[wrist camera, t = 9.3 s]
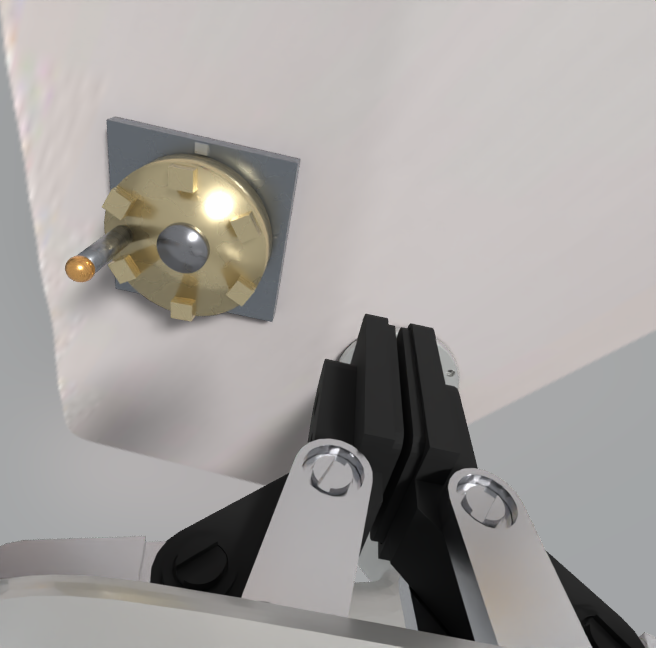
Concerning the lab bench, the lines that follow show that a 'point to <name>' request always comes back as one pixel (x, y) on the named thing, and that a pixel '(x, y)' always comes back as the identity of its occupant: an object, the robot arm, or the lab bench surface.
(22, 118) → the lab bench surface
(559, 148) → the lab bench surface
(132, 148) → the base plate
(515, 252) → the lab bench surface
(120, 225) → the brass dial with handle
